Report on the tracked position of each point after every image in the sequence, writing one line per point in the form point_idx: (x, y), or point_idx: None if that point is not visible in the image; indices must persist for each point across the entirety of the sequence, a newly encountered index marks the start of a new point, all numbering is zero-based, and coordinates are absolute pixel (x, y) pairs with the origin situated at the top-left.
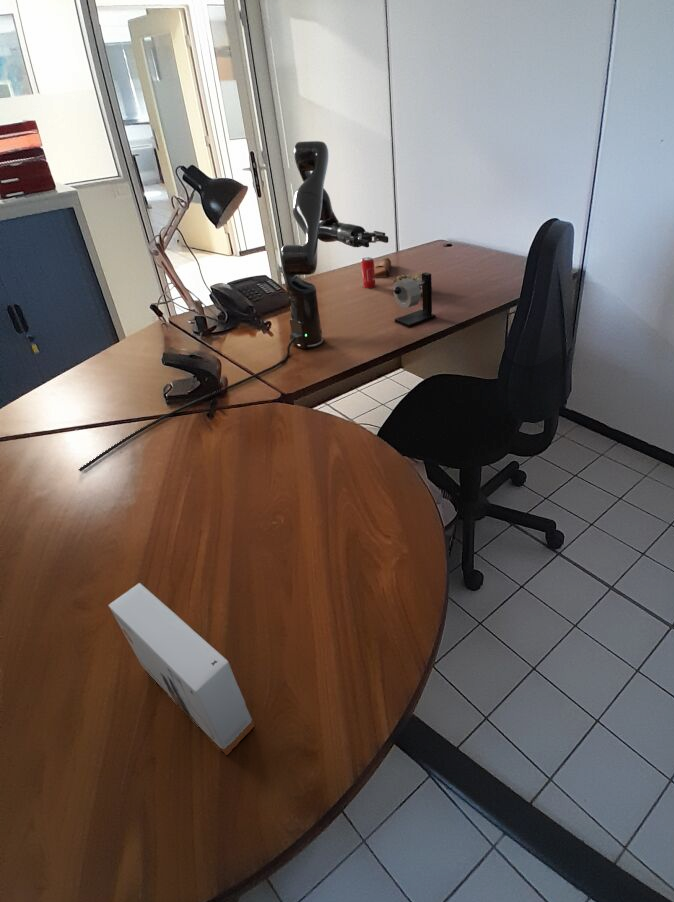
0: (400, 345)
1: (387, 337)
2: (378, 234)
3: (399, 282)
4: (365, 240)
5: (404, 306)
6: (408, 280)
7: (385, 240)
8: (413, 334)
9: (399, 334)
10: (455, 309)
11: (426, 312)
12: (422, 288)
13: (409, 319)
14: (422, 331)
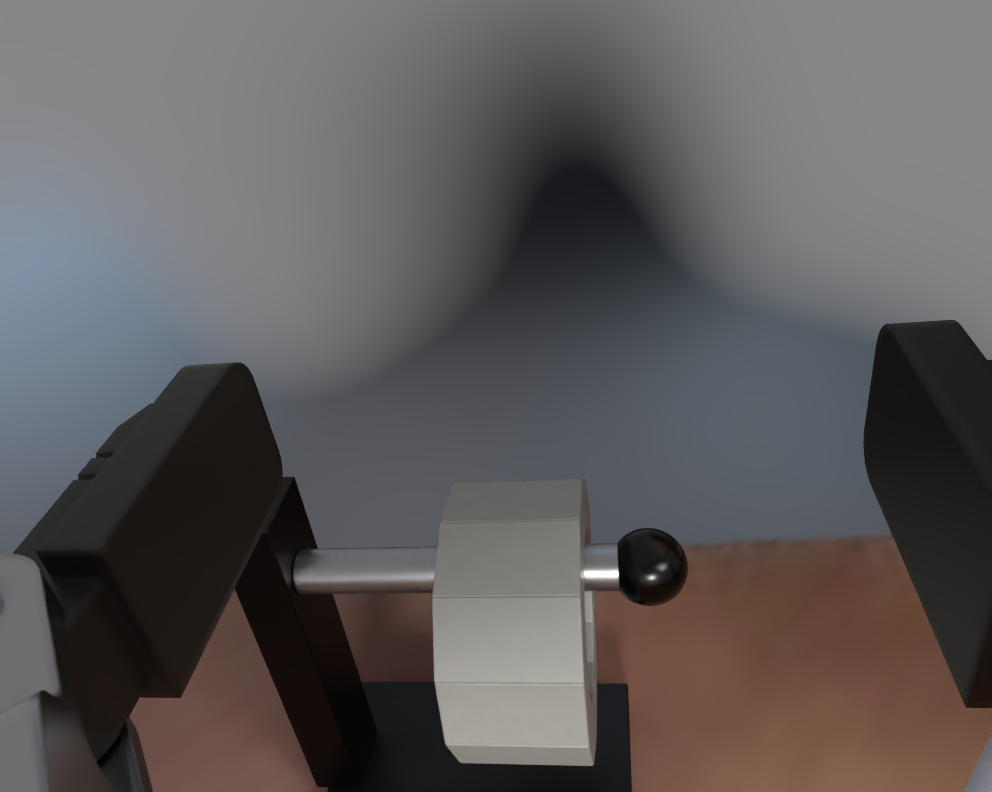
0: (843, 554)
1: (863, 682)
2: (18, 638)
3: (581, 550)
4: (966, 370)
5: (595, 666)
6: (505, 499)
7: (254, 468)
8: (678, 609)
9: (757, 664)
10: (144, 712)
11: (370, 737)
12: (310, 639)
13: None
14: (602, 605)
